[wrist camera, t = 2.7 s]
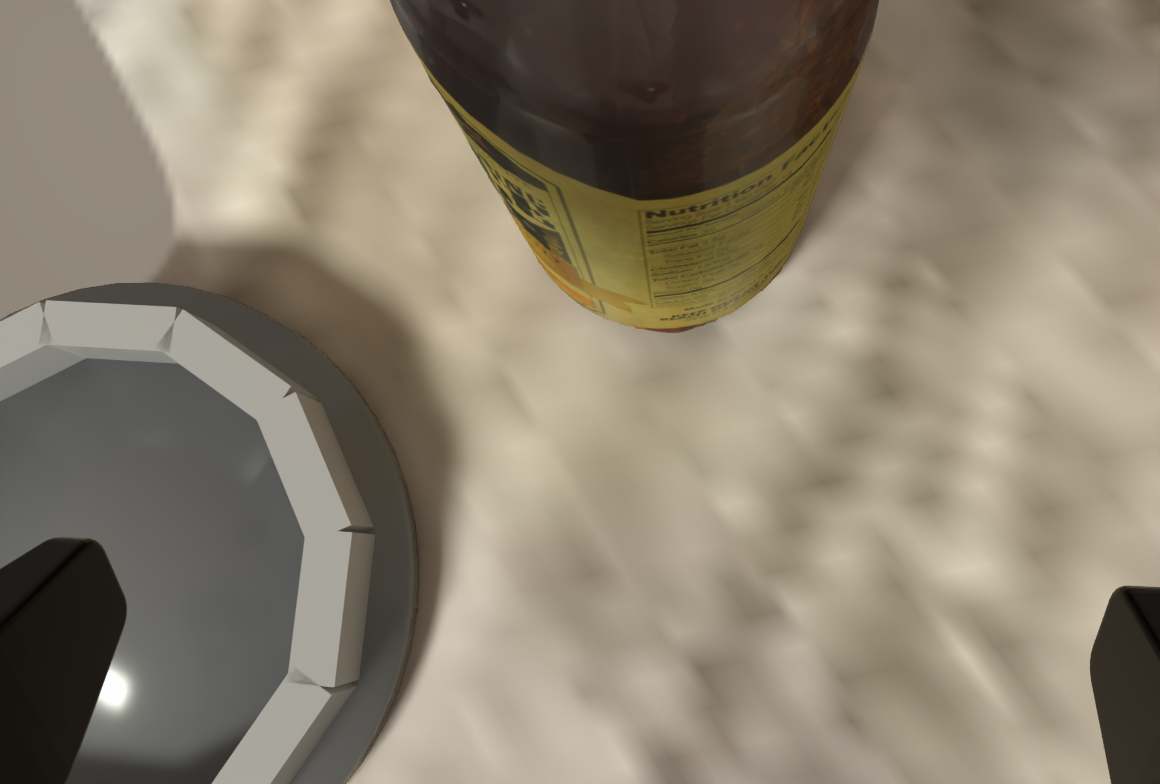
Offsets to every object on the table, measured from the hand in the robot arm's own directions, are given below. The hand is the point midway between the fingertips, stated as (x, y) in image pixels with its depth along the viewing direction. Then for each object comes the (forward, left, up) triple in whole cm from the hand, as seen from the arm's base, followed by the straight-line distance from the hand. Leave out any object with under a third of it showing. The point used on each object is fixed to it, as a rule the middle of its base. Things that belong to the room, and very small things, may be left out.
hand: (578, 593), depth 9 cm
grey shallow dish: (+5, +11, -14) cm, 18 cm away
